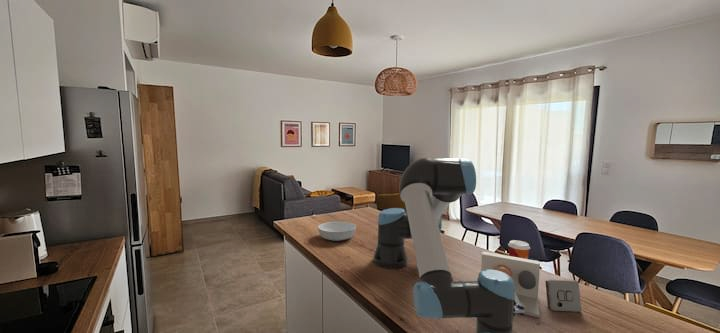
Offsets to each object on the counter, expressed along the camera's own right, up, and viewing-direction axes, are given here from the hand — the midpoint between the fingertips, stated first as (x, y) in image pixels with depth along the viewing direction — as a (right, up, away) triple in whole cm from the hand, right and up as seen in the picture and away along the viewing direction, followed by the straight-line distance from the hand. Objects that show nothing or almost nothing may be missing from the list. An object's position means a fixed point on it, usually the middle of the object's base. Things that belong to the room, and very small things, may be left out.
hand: (502, 281), depth 98 cm
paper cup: (+16, -7, +21) cm, 27 cm away
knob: (+5, -3, +9) cm, 11 cm away
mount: (+4, -8, +4) cm, 9 cm away
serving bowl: (-59, -2, +66) cm, 89 cm away
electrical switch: (+19, -8, 0) cm, 21 cm away
